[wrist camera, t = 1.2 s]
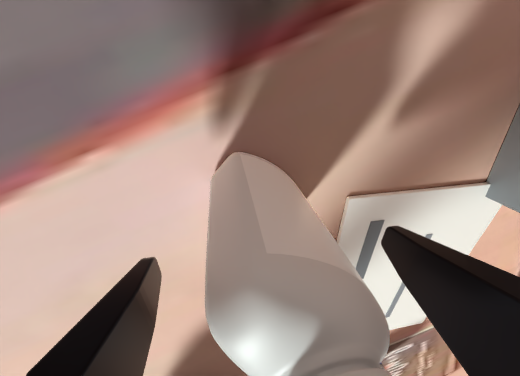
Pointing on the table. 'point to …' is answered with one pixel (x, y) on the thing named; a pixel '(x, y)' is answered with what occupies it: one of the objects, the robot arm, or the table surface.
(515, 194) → the gray rectangular block
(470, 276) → the robot arm
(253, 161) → the white plastic bottle
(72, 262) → the table surface
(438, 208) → the paper sheet
